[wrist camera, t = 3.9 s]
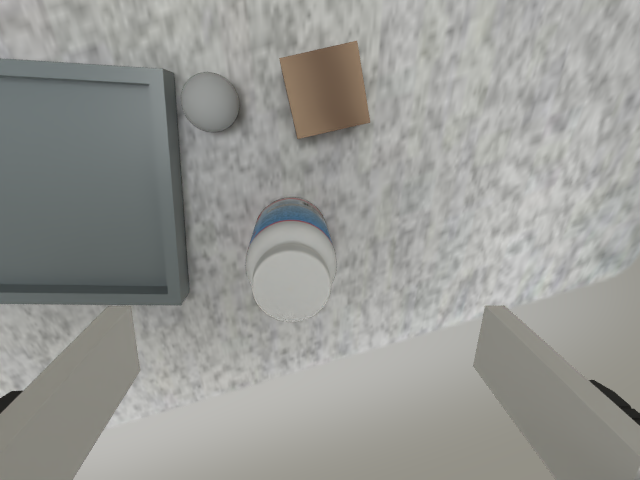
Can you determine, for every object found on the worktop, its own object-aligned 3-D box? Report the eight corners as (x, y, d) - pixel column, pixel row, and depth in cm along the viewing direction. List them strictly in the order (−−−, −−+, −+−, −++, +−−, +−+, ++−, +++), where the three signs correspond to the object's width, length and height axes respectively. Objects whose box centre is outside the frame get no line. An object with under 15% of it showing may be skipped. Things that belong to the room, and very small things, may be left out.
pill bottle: (243, 213, 31) (217, 264, 20) (309, 184, 30) (318, 220, 20) (274, 273, 33) (266, 348, 22) (336, 246, 32) (358, 309, 22)
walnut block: (296, 135, 29) (297, 139, 24) (281, 68, 27) (279, 58, 23) (357, 121, 29) (370, 122, 24) (345, 54, 27) (357, 40, 23)
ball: (191, 129, 28) (175, 131, 24) (187, 73, 27) (170, 66, 23) (243, 132, 29) (235, 134, 25) (242, 77, 27) (234, 70, 24)
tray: (-27, 289, 31) (-53, 303, 29) (-92, 56, 25) (-131, 50, 23) (189, 291, 33) (181, 305, 30) (173, 72, 27) (162, 68, 25)
